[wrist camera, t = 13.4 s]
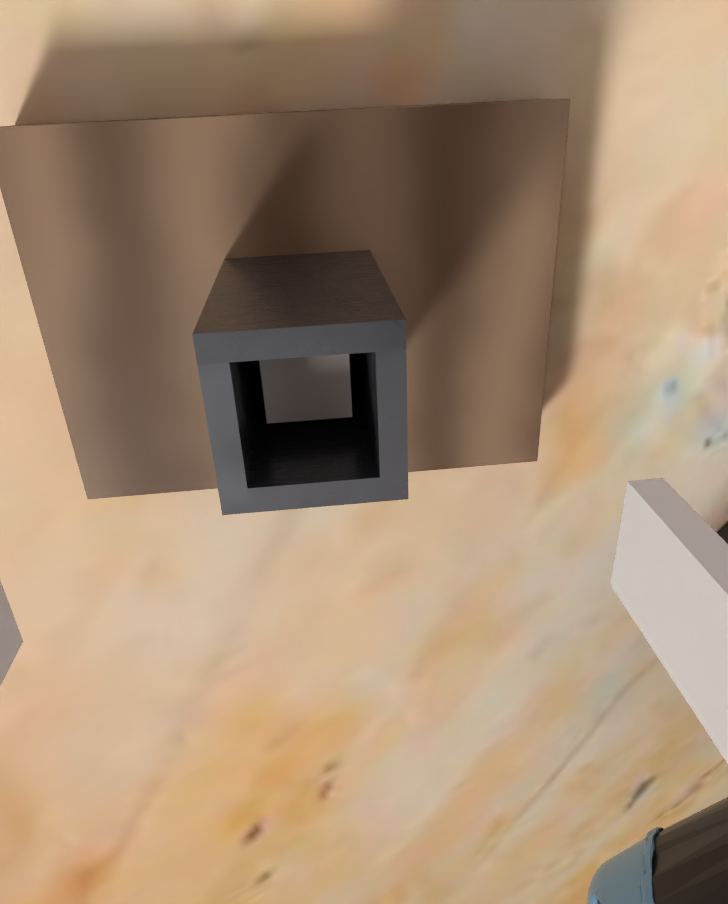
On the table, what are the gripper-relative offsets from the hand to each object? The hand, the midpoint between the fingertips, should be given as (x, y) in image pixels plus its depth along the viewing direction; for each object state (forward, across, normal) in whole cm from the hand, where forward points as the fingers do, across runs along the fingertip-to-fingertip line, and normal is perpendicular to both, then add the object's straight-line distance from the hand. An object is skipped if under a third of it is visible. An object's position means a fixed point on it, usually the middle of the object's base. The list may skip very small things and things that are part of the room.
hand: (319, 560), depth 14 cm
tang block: (+20, 0, 0) cm, 20 cm away
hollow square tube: (+17, 0, 0) cm, 17 cm away
